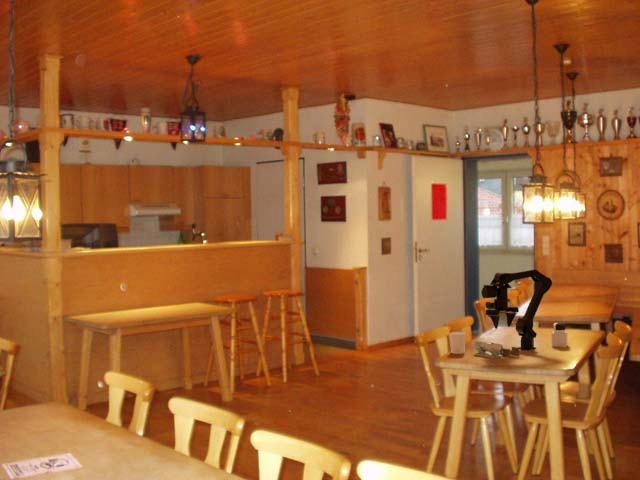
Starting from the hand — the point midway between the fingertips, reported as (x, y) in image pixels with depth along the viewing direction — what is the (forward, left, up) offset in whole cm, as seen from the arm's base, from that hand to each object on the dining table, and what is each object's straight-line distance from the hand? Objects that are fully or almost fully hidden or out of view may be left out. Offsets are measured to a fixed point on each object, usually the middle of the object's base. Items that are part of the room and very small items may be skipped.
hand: (502, 327), depth 387 cm
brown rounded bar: (+14, +3, -10) cm, 17 cm away
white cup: (+20, -12, -12) cm, 26 cm away
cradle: (+13, +3, -12) cm, 18 cm away
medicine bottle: (-32, +10, -12) cm, 36 cm away
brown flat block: (+5, +7, -12) cm, 15 cm away
